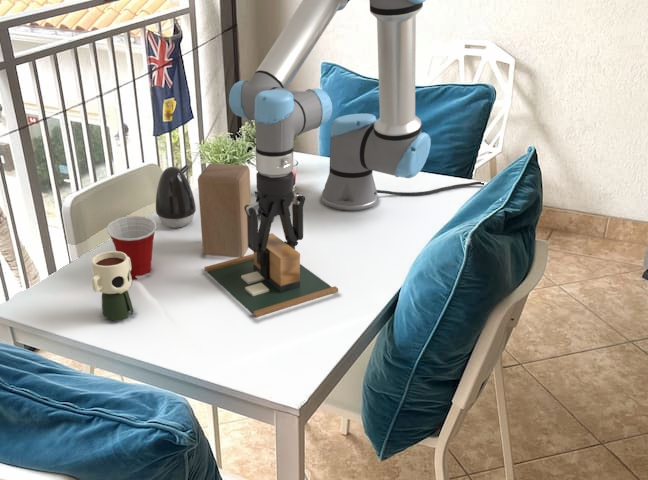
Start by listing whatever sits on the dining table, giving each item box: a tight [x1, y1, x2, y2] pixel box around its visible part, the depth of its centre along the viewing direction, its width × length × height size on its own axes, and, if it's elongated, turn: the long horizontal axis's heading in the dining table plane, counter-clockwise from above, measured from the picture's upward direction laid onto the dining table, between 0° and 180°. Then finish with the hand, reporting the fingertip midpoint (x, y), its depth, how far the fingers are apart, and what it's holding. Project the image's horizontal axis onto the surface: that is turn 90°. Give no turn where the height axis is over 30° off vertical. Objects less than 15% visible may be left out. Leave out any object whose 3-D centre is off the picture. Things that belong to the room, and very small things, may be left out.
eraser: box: [253, 232, 301, 292], centre depth 152 cm, size 5×12×8 cm, turn 30°
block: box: [197, 162, 252, 258], centre depth 163 cm, size 10×10×20 cm
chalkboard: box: [204, 253, 339, 318], centre depth 153 cm, size 20×24×2 cm
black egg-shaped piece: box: [155, 164, 197, 229], centre depth 178 cm, size 10×10×15 cm
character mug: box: [91, 250, 135, 322], centre depth 140 cm, size 11×7×13 cm, turn 150°
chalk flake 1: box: [241, 271, 264, 284], centre depth 154 cm, size 4×4×1 cm
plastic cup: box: [106, 215, 158, 280], centre depth 155 cm, size 11×11×12 cm
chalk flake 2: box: [245, 283, 269, 296], centre depth 149 cm, size 4×4×1 cm
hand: (276, 273), depth 153 cm, fingers closed on eraser, 5 cm apart
